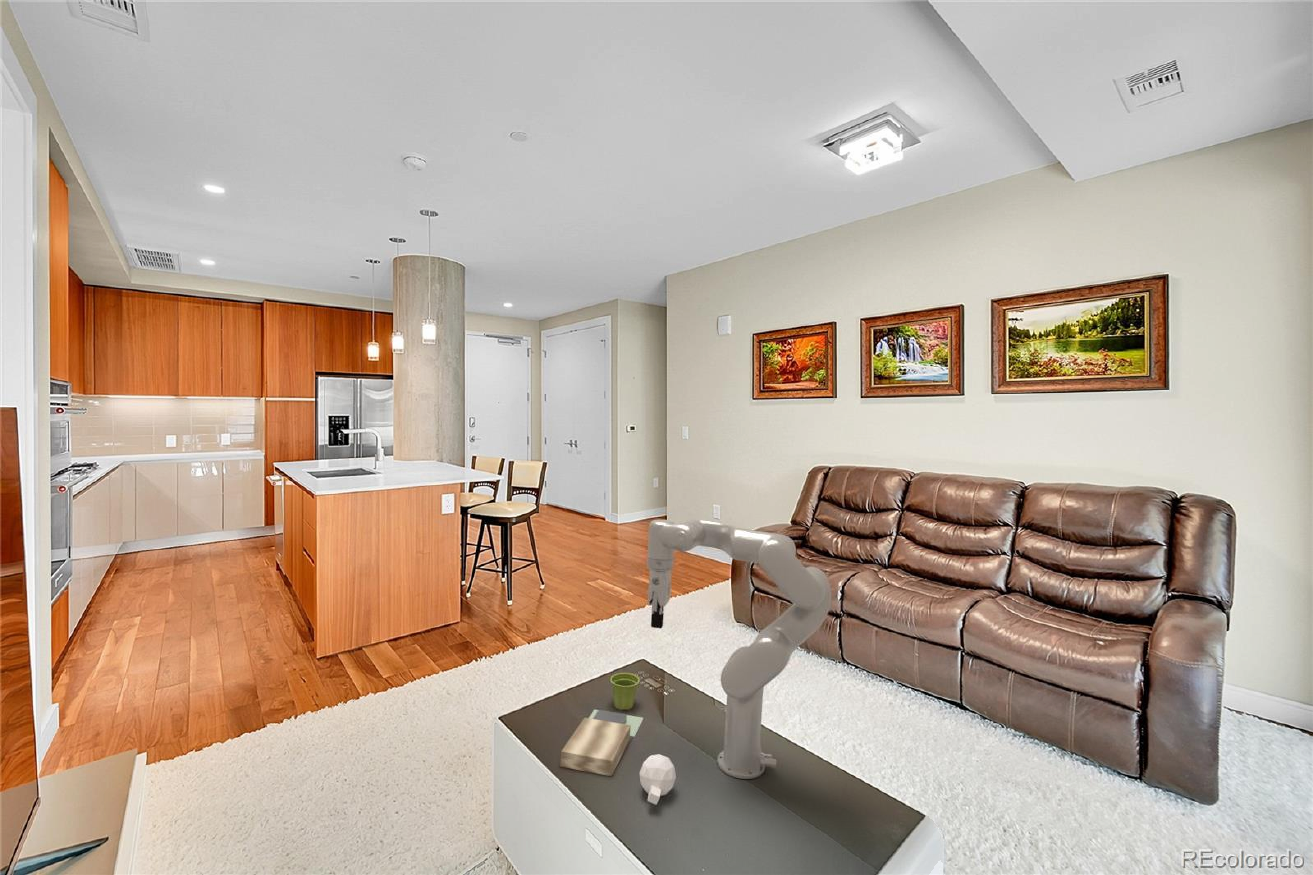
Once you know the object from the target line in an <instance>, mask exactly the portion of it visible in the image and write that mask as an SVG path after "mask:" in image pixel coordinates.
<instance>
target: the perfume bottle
mask: <svg viewBox="0 0 1313 875" xmlns="http://www.w3.org/2000/svg"><path fill="white" fill-rule="evenodd" d="M639 779H640V785H641V786H642V788H643V789H644V791H645V792H646V793H647V794H648V795H647V802H649V803H651V804H653V805H657V804H658V802H659V800H660V798H661V796H666V795H667V794H668V793H669V792H670V791H671V790H672V789H673V788H674V787H673V786H674V785H675V781H676V779H677V775H676V769H675V766H674V764H673V763H672V761H671V759H670V758H669V757H667V756H665V755H662V754H660V753H658V754H652V755H649V757H647V758H646V759H645V760H644V762H643V763H642V766H641V767H640V771H639Z"/></svg>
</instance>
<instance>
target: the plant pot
mask: <svg viewBox="0 0 1313 875" xmlns="http://www.w3.org/2000/svg"><path fill="white" fill-rule="evenodd" d="M640 680H641V679H640V678H639V676H638V675H636V674H633V673H629V672H619V673H616V674H613V675H612V676H611V677H610V682H611V686H612V694H613V704H614V705H613V706H614V708H615V709H617V710H620V711H623V710H626V711H628V710H631V709H632V708H633V707H634V702H635V697H636V692H637V688H638V686H639V684H640Z"/></svg>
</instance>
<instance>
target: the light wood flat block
mask: <svg viewBox="0 0 1313 875" xmlns="http://www.w3.org/2000/svg"><path fill="white" fill-rule="evenodd" d="M630 728H631V725H625V724H619V723H613V722H608V721H602V720H596V719H590V718H589V717H584V718H583V719H582V720H581V722H580V724H579V725H578V727H577V728H576V729H575V731H574V732H573V734H572V735H571V737H570V738H569V739H568V741H567V743H566V744H565V745H564V747H563V748H562V750H561V751H560V767H562V768H567V769H572V770H577V771H581V772H582V771H583V772H588V773H593V774H599V775H602V776H603V775H604V776H608V777H612V776H613V774H614V772H615V770H616V768H617V766H618V764H619V762H620V760H621V758H622V756H623V754H624V752H625V750H626V748H627V746H628V744H629V742H630V740H631V737H630Z"/></svg>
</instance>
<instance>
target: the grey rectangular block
mask: <svg viewBox="0 0 1313 875" xmlns="http://www.w3.org/2000/svg"><path fill="white" fill-rule="evenodd" d="M597 710H598V712H597V713H596V715H595V716H594V718H593V719H596V720H602V721H608V722H613V723H619V724H625V723H626V720H627V715H628V714H626V713H621V712H615V711H607V710H602V709H597Z"/></svg>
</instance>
